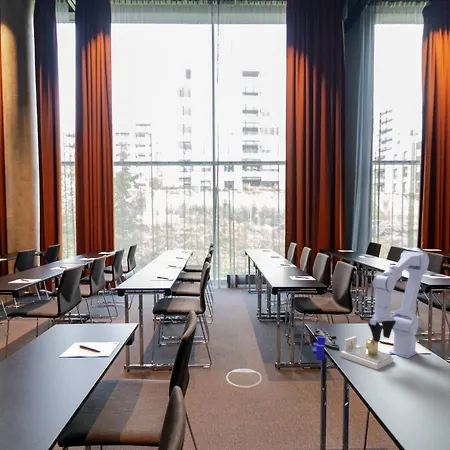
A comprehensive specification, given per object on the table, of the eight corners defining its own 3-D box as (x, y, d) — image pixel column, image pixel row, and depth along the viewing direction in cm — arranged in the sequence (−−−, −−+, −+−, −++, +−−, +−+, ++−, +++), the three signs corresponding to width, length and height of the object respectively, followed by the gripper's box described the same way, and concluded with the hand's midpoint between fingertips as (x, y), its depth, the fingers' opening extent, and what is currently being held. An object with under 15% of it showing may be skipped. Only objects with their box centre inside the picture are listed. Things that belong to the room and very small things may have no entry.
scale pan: (362, 347, 160) (362, 345, 160) (391, 357, 150) (391, 355, 150) (348, 352, 154) (348, 350, 154) (378, 363, 144) (379, 361, 144)
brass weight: (369, 350, 155) (370, 336, 154) (379, 354, 151) (380, 339, 151) (363, 353, 152) (364, 338, 152) (373, 356, 149) (374, 341, 148)
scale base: (357, 349, 164) (357, 334, 163) (393, 361, 151) (394, 345, 151) (340, 356, 155) (340, 340, 155) (376, 369, 143) (377, 352, 143)
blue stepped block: (313, 349, 163) (314, 335, 163) (324, 350, 162) (324, 336, 162) (312, 359, 152) (312, 345, 152) (323, 361, 151) (324, 346, 150)
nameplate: (348, 347, 163) (325, 347, 162) (347, 351, 163) (325, 351, 162) (327, 327, 190) (308, 327, 190) (327, 330, 190) (308, 330, 190)
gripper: (382, 310, 142) (381, 346, 142) (401, 305, 151) (400, 338, 151) (365, 306, 147) (364, 340, 148) (384, 301, 156) (383, 333, 157)
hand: (381, 339), depth 150 cm, fingers open, 7 cm apart
